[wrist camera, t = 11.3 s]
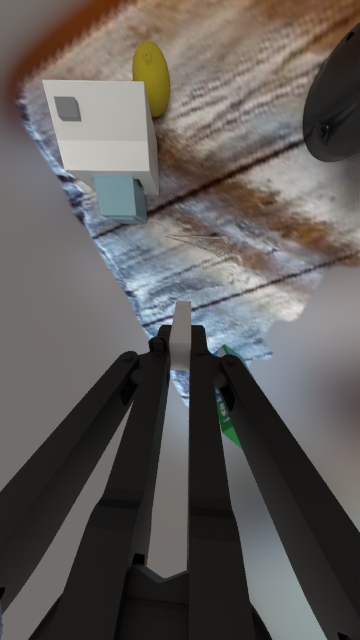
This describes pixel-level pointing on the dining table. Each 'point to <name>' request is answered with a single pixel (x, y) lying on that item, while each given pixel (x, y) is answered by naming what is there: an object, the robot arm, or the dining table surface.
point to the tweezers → (205, 237)
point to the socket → (104, 130)
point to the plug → (121, 199)
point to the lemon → (152, 75)
